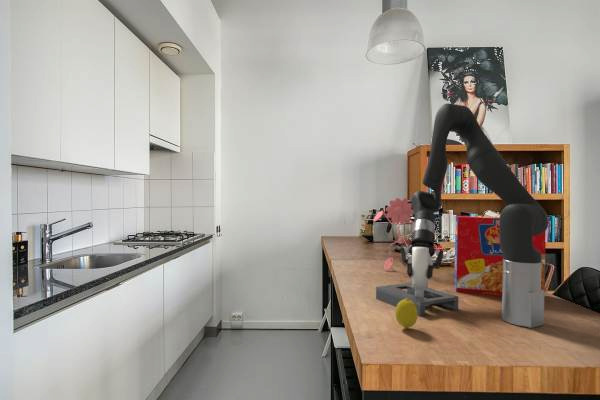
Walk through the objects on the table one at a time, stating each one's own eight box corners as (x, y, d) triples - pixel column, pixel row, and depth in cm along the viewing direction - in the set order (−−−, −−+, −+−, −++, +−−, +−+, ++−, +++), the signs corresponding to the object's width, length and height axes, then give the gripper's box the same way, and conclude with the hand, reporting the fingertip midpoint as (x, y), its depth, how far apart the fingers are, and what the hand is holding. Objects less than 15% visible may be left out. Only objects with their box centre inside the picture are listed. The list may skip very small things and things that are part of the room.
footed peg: (433, 305, 113) (434, 248, 113) (419, 307, 110) (420, 249, 110) (419, 300, 118) (420, 246, 118) (405, 302, 116) (406, 247, 116)
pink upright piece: (375, 267, 177) (376, 197, 177) (429, 273, 165) (431, 198, 164) (365, 273, 164) (367, 197, 163) (424, 280, 152) (426, 198, 151)
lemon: (400, 323, 97) (401, 294, 97) (420, 328, 93) (421, 298, 93) (391, 329, 93) (392, 298, 93) (412, 334, 89) (412, 302, 89)
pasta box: (456, 292, 132) (457, 216, 132) (454, 287, 139) (455, 216, 139) (544, 300, 123) (545, 219, 123) (537, 294, 131) (538, 218, 131)
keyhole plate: (458, 309, 110) (458, 296, 110) (420, 316, 103) (420, 302, 103) (411, 293, 128) (411, 282, 128) (376, 298, 121) (376, 286, 121)
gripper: (401, 227, 124) (395, 267, 113) (445, 229, 118) (443, 272, 107) (402, 240, 129) (397, 280, 118) (445, 243, 123) (443, 285, 112)
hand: (419, 276), depth 113 cm, fingers closed on footed peg, 5 cm apart
